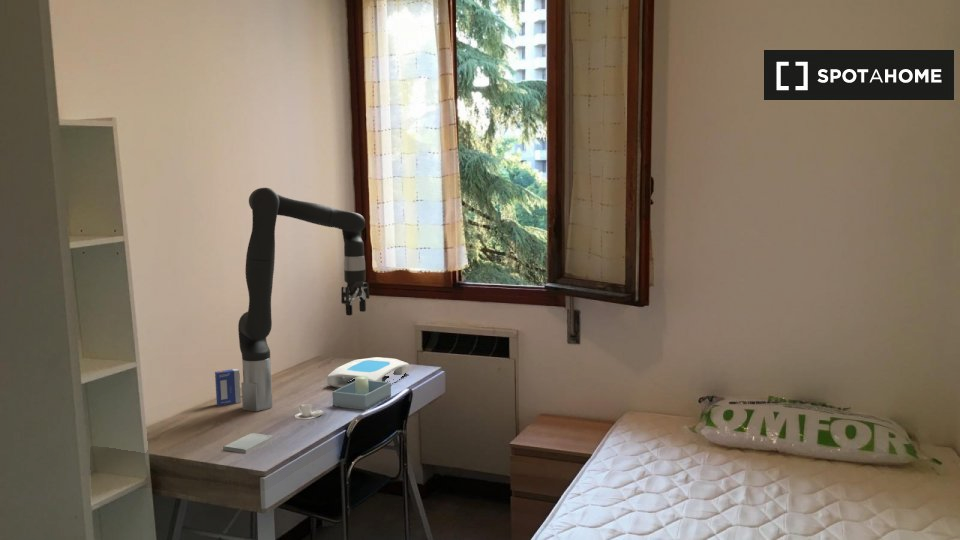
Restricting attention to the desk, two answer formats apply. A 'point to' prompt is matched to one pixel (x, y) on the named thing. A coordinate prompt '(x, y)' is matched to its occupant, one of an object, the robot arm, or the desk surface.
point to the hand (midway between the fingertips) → (356, 313)
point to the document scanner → (366, 370)
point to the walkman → (227, 387)
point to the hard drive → (248, 443)
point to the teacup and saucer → (308, 412)
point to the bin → (357, 401)
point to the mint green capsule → (361, 385)
